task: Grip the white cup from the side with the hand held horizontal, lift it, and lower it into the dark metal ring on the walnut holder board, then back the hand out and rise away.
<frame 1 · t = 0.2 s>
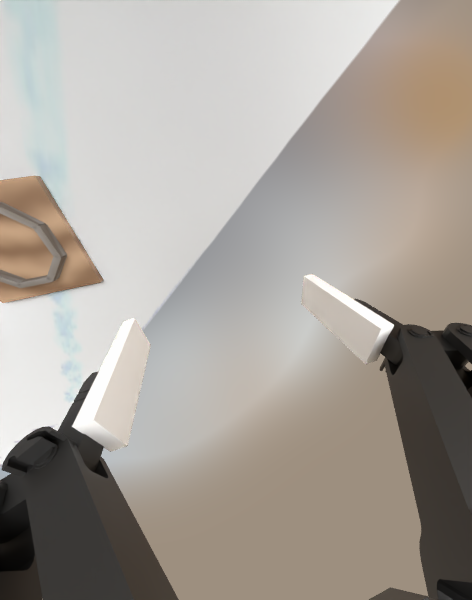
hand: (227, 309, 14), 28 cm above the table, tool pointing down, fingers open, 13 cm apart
ring holder: (22, 245, 31), on the table
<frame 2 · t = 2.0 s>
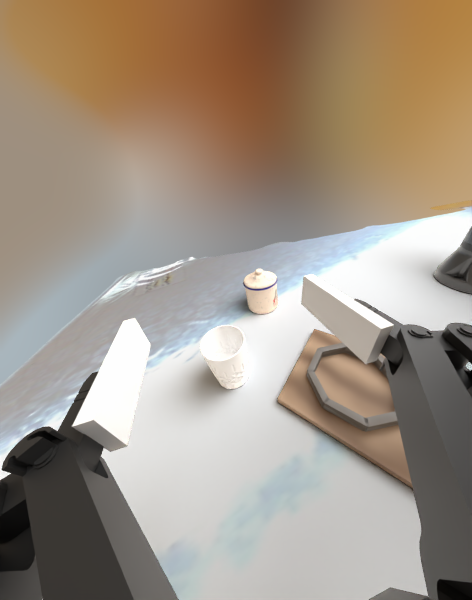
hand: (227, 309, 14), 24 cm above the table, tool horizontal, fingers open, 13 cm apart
white cup: (233, 373, 36), on the table
teacup with lid: (262, 302, 53), on the table
ring holder: (350, 386, 29), on the table
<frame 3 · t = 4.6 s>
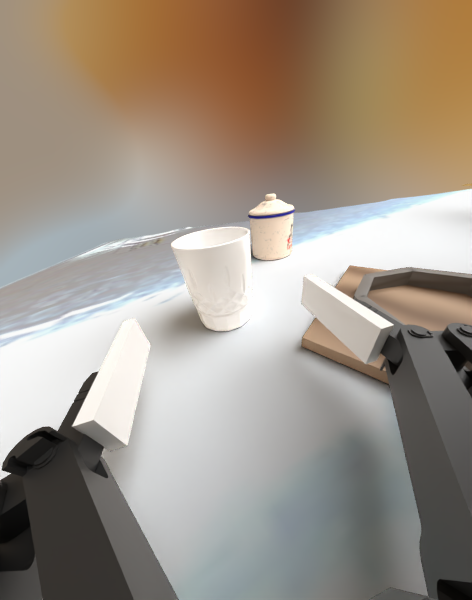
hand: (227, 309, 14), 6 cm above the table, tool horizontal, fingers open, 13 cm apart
white cup: (227, 315, 23), on the table
teacup with lid: (270, 252, 41), on the table
ring holder: (430, 325, 17), on the table
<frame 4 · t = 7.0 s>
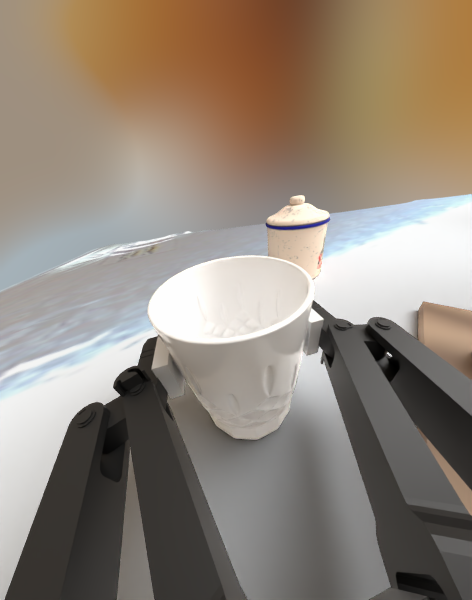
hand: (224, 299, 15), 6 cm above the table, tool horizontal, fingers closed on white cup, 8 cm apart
white cup: (248, 392, 14), on the table, touching gripper
teacup with lid: (291, 269, 32), on the table
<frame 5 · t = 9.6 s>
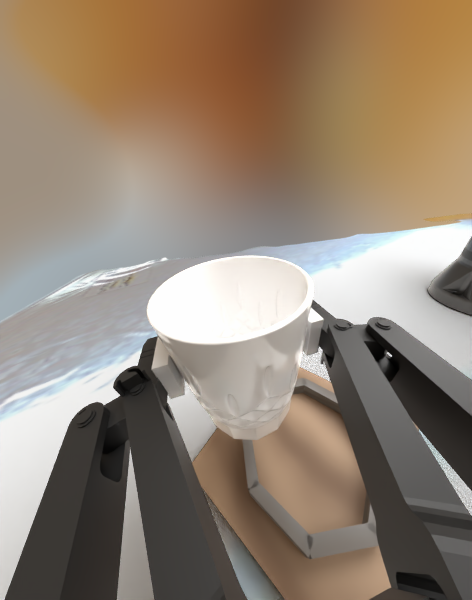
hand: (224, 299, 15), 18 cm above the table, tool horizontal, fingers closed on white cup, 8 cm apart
white cup: (247, 392, 14), point 11 cm above the table, touching gripper
ring holder: (303, 450, 19), on the table
when the fingers open (8 cm above the table, at t = 12.2 s): white cup drops 1 cm, resting on ring holder.
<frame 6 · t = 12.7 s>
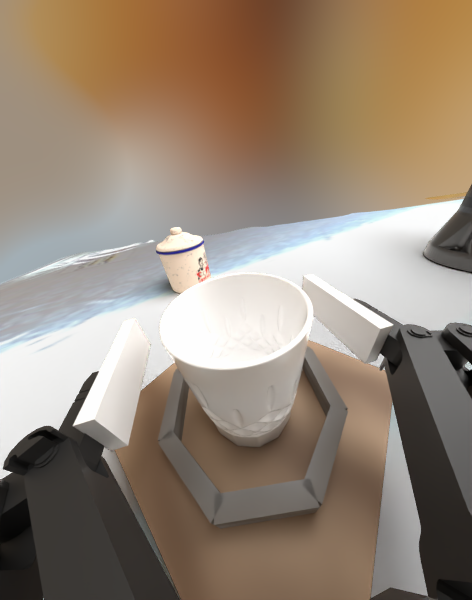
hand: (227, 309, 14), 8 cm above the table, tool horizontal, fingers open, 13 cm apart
white cup: (250, 400, 15), point 1 cm above the table, touching ring holder
teacup with lid: (193, 281, 39), on the table
ring holder: (250, 405, 15), on the table
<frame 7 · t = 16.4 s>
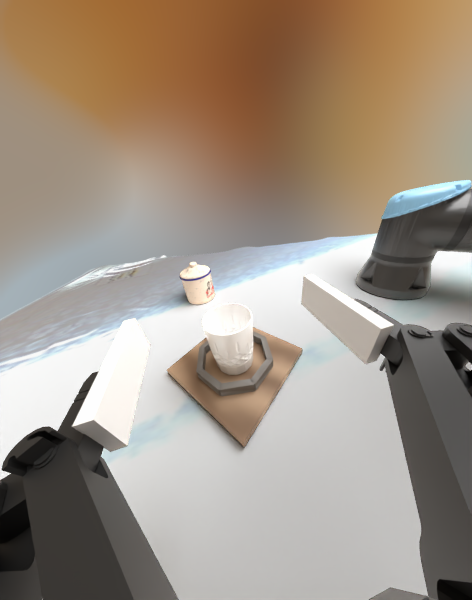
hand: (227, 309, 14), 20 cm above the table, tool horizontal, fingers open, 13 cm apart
white cup: (235, 360, 32), point 1 cm above the table, touching ring holder
teacup with lid: (202, 295, 57), on the table
ring holder: (235, 363, 33), on the table
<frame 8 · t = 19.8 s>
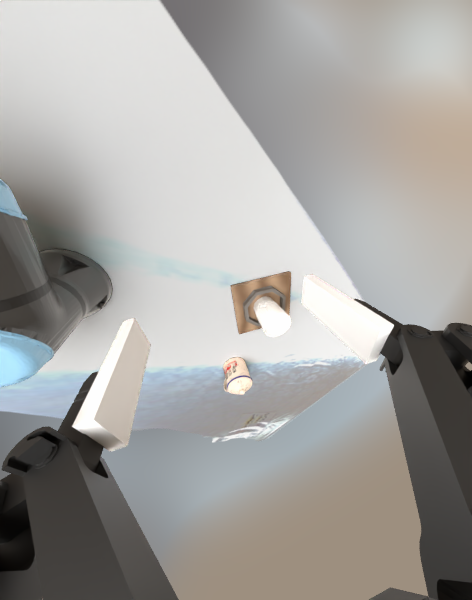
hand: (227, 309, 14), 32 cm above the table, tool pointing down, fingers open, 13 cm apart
white cup: (263, 305, 54), point 1 cm above the table, touching ring holder
teacup with lid: (231, 366, 67), on the table
ring holder: (262, 303, 55), on the table
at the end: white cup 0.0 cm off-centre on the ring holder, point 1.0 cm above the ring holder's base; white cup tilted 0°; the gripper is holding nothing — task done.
